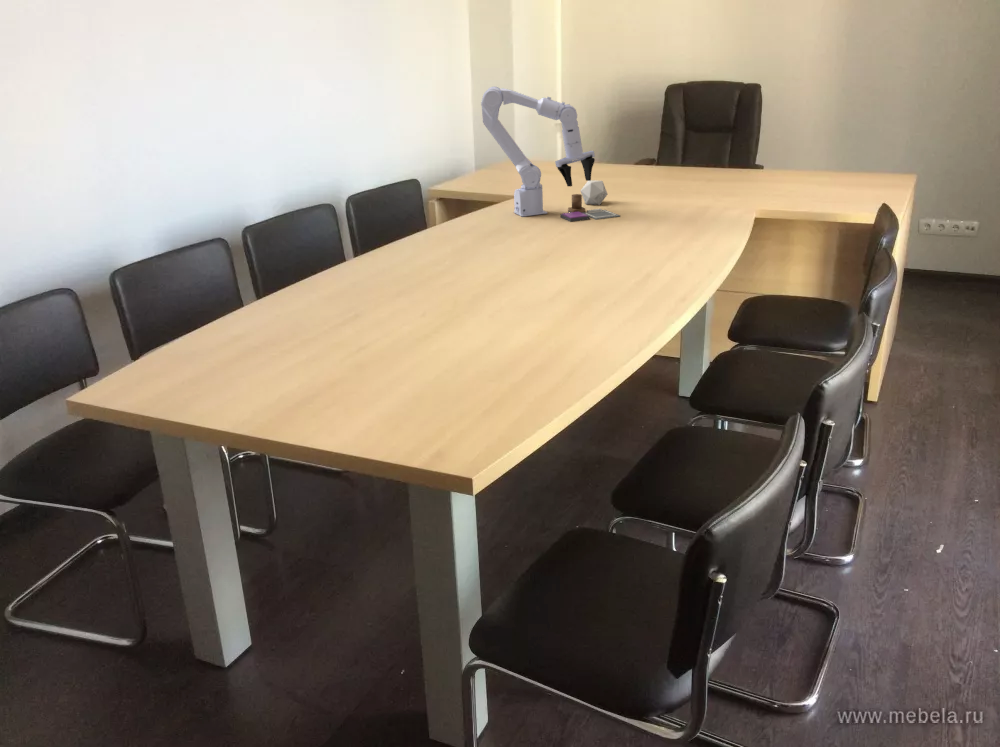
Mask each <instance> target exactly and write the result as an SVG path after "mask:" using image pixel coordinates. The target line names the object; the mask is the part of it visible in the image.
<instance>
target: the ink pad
mask: <svg viewBox="0 0 1000 747" xmlns="http://www.w3.org/2000/svg"><path fill="white" fill-rule="evenodd" d="M559 217H560V218H561V219H564V220H565V221H568V222H570V223H571V222H579V221H580V220H581V221H587V220H590V218H591V217H590V216H588V215H586V214H583V213H581V212H579V211H578V212H570V213H569V212H564V213H560V215H559Z"/></svg>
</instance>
